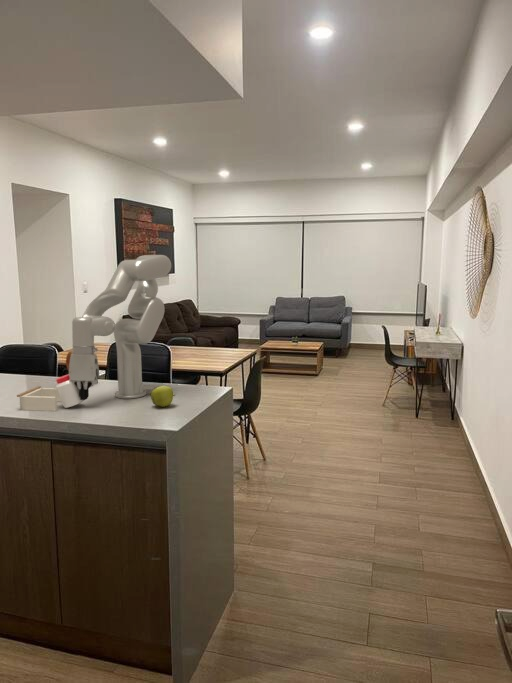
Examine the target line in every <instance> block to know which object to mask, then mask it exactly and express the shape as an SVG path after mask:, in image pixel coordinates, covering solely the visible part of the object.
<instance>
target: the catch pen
mask: <svg viewBox="0 0 512 683" xmlns="http://www.w3.org/2000/svg"><path fill="white" fill-rule="evenodd" d="M16 397H17V398H19V410H20V411H35V412H36V411H38V412H39V411H41V412H56V411H58V402H61V403H62V401H61V399H60V396H59V394H58V392H57V389H56V387H55V388H53V387H42V386H40V385H38V386H35V387H32V388H30V389H28V390H25V391H24V392H21V393H19V394H17V395H16Z"/></svg>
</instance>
